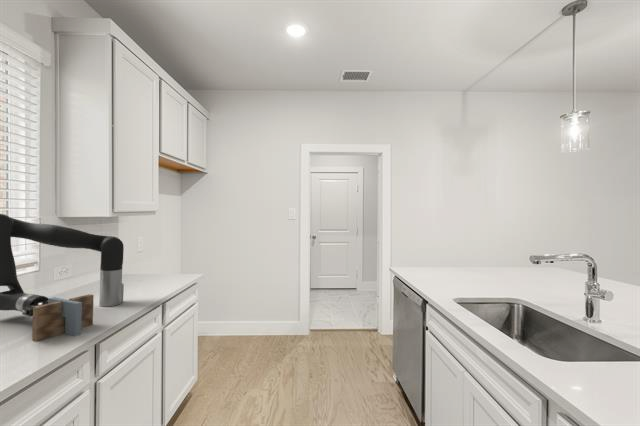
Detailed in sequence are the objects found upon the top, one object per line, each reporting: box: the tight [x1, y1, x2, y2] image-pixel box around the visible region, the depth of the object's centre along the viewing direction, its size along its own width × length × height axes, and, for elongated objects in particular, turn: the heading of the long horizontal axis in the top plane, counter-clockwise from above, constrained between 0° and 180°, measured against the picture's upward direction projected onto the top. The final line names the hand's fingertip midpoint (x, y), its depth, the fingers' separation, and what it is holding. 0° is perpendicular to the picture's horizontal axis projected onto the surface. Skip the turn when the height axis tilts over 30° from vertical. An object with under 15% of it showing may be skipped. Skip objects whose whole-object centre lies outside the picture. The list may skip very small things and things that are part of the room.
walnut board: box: [31, 293, 95, 342], centre depth 127 cm, size 20×2×12 cm, turn 159°
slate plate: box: [47, 296, 82, 337], centre depth 127 cm, size 2×16×12 cm, turn 69°
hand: (59, 309), depth 129 cm, fingers open, 8 cm apart
